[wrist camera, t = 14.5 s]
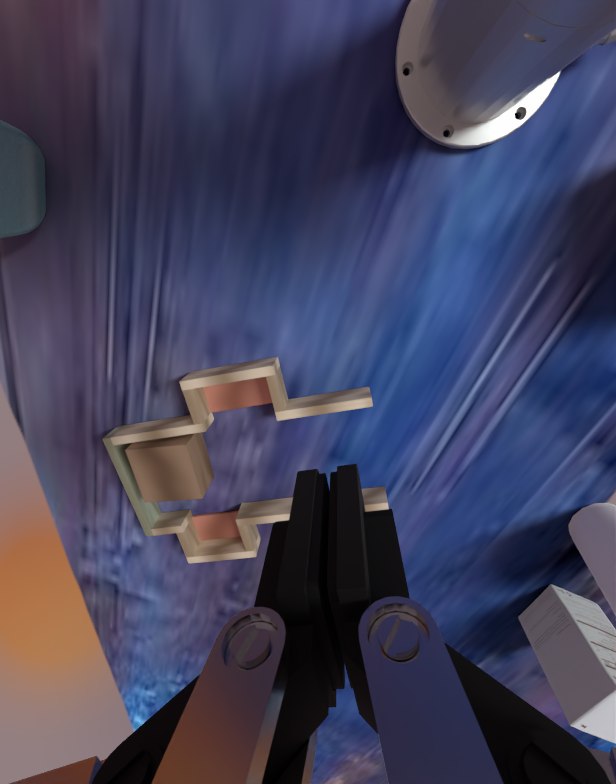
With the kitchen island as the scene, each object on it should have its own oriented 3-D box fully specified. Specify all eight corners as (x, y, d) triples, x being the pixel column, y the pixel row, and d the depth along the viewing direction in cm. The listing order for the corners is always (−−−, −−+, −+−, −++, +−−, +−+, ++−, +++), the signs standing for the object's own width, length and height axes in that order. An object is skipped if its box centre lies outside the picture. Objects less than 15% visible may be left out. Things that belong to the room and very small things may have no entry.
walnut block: (200, 425, 44) (186, 444, 40) (214, 475, 46) (202, 498, 42) (145, 430, 45) (125, 450, 40) (161, 479, 47) (144, 502, 43)
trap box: (362, 341, 38) (364, 349, 35) (390, 525, 47) (393, 543, 44) (100, 388, 43) (83, 398, 40) (169, 548, 51) (159, 566, 48)
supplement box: (560, 635, 52) (625, 750, 40) (515, 616, 51) (567, 727, 39) (598, 602, 49) (680, 715, 37) (551, 581, 48) (618, 690, 37)
